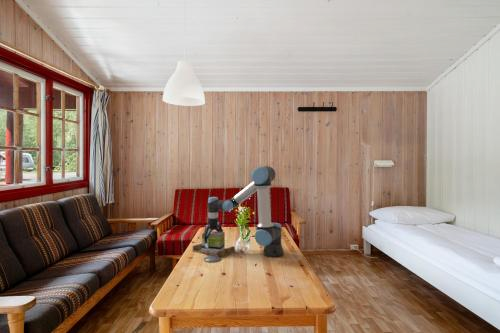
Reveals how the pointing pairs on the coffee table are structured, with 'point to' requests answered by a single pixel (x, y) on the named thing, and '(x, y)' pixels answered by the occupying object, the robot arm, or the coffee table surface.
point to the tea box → (214, 242)
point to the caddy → (218, 254)
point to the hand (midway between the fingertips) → (213, 245)
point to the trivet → (212, 259)
